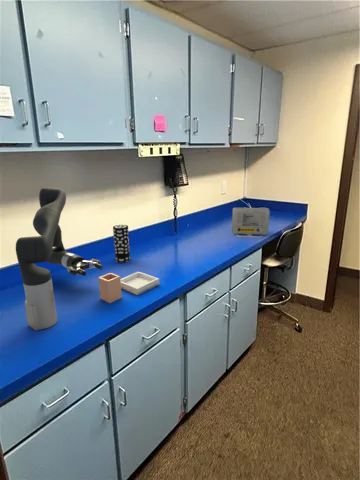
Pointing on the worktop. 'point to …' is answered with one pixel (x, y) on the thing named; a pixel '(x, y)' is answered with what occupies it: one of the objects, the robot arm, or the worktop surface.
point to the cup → (110, 287)
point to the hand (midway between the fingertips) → (93, 270)
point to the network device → (250, 221)
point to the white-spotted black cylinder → (121, 243)
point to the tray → (138, 282)
